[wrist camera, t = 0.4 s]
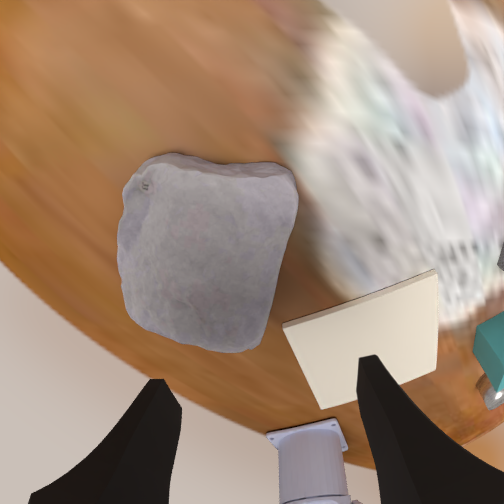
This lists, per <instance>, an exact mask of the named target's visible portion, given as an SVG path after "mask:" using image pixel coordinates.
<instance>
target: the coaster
mask: <svg viewBox="0 0 504 504" xmlns="http://www.w3.org/2000/svg"><path fill="white" fill-rule="evenodd" d="M282 327H283V331H284V333H285V335H286V337H287V339H288V341H289V343H290V345H291V347H292V350H293V352H294V354H295V356H296V358H297V360H298V362H299V364H300V366H301V368H302V371H303V373H304V375H305V377H306V379H307V381H308V383H309V385H310V387H311V389H312V392H313V394H314V396H315V398H316V400H317V402H318V404H319V406H320V408H321V410H323V409H326V408H330V407H334V406H337V405H341V404H344V403H347V402H351V401H354V400H357V393H356V386H357V374H358V361H359V358H360V357H365V356H369V355H374V354H375V355H377V356H378V357H379V359H380V360H381V362H382V363H383V364H384V366H385V367H386V369H387V370H388V371H389V373H390V374H391V375H392V377H393V378H394V379H395V381H396V382H397V383H398V384H399V385H400V384H403V383H405V382H408V381H410V380H413V379H415V378H418V377H420V376H422V375H425V374H427V373H429V372H432V371H434V370H436V360H437V344H438V273H437V272H436V271H435V270H434V269H433V270H431V271H428V272H426V273H423V274H421V275H419V276H416V277H414V278H411V279H409V280H406V281H404V282H401V283H398V284H396V285H393V286H391V287H388V288H385V289H383V290H380V291H377V292H375V293H372V294H369V295H366V296H364V297H361V298H358V299H355V300H352V301H350V302H347V303H344V304H341V305H338V306H335V307H332V308H329V309H326V310H323V311H320V312H317V313H314V314H311V315H308V316H305V317H301V318H298V319H295V320H292V321H289V322H285V323H282Z"/></svg>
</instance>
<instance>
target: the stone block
mask: <svg viewBox="0 0 504 504" xmlns="http://www.w3.org/2000/svg"><path fill="white" fill-rule="evenodd" d="M296 190H297V187H296V182H295V178H294V176H293V174H292V172H291V171H290V170H288V169H286V168H285V167H282V166H280V165H278V164H276V163H273V162H258V163H245V164H243V163H230V164H227V165H221V164H215V163H212V162H209V161H205V160H203V159H201V158H199V157H195V156H186V155H182V154H179V153H167V154H165V155H162V156H156V157H153V158H150V159H149V160H147V161H145V162H144V163H143V164H142V165H141V166H140V168H139V169H138V170H137V171H136V172H135V173H134V174H133V175H132V177H131V179H130V181H129V182H128V183H127V184H126V185H125V187H124V189H123V194H122V196H123V202H124V212H123V216H122V217H121V219H120V221H119V226H118V233H117V245H118V252H117V262H118V269H119V273H120V276H121V278H122V284H121V288H122V291H123V296H124V301H125V305H126V310H127V312H128V314H129V316H130V317H131V318H132V320H135V322H136V323H137V324H139V325H140V326H141V327H143V328H144V329H146V330H149V331H151V332H155V333H157V334H160V335H162V336H164V337H167V338H170V339H172V340H175V341H177V342H179V343H181V344H191V345H197V346H199V347H202V348H204V349H206V350H213V351H217V352H222V353H239V352H243V351H244V350H246V349H250V350H251V349H253V348H255V347H256V346H257V345H259V344H260V342H261V339H262V337H263V334H264V331H265V328H266V325H267V321H268V317H269V313H270V310H271V306H272V302H273V298H274V294H275V289H276V284H277V279H278V275H279V270H280V266H281V263H282V259H283V255H284V252H285V249H286V245H287V241H288V238H289V236H290V234H291V231H292V229H293V227H294V222H295V218H296V214H297V209H298V193H297V191H296Z"/></svg>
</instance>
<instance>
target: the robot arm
mask: <svg viewBox="0 0 504 504" xmlns="http://www.w3.org/2000/svg"><path fill="white" fill-rule="evenodd" d="M356 393H357V399H358V404H359V409H360V414H361V418H362V421H363V424H364V428H365V431H366V434H367V438H368V441H369V445H370V448H371V451H372V455H373V458H374V462H375V466H376V470H377V476H378V483H379V490H380V498H381V504H504V472H502V471H500V470H498V469H496V468H495V467H493V466H491V465H489V464H487V463H486V462H484V461H482V460H481V459H479V458H477V457H476V456H474V455H473V454H471V453H470V452H469V451H467V450H466V449H464V448H463V447H462V446H460V445H459V444H457V443H456V442H455V441H454V440H452V439H451V438H450V437H449V436H448V435H446V434H445V433H444V432H443V431H442V430H441V429H439V428H438V427H437V426H436V425H435V424H434V423H433V422H432V421H431V420H430V419H429V418H428V417H427V416H426V415H425V414H424V413H423V412H422V411H421V410H420V409H419V408H418V407H417V406H416V404H415V403H414V402H413V401H412V400H411V399H410V398H409V396H408V395H407V394H406V393H405V392H404V391H403V389H402V388H401V387H400V386H399V384H398V383H397V382H396V381H395V379H394V378H393V377H392V375H391V374H390V373H389V371H388V370H387V369H386V367H385V366H384V364H383V363H382V362H381V360H380V359H379V357H378V356H377V355H375V354H374V355H369V356H365V357H360V358H359V361H358V374H357V386H356ZM181 419H182V407H181V406H180V404H179V403H178V401H177V400H176V398H175V397H174V395H173V393H172V392H171V390H170V389H169V387H168V385H167V384H166V382H165V380H164V379H150V380H149V381H148V382H147V384H146V385H145V386H144V388H143V389H142V390H141V392H140V393H139V395H138V396H137V397H136V399H135V400H134V401H133V403H132V404H131V406H130V407H129V408H128V410H127V411H126V412H125V414H124V415H123V416H122V417H121V419H120V420H119V421H118V423H117V424H116V425H115V426H114V428H113V429H112V430H111V431H110V432H109V434H108V435H107V436H106V437H105V438H104V439H103V441H102V442H101V443H100V444H99V445H98V446H97V447H96V448H95V449H94V450H93V451H92V452H91V453H90V454H89V455H88V456H87V457H86V458H85V459H83V460H82V461H81V462H80V463H79V464H77V465H76V466H75V467H74V468H72V469H71V470H70V471H69V472H68V473H66V474H64V475H63V476H62V477H60V478H59V479H57V480H56V481H54V482H52V483H51V484H49V485H47V486H45V487H43V488H42V489H40V490H38V491H36V492H34V493H32V494H31V496H30V499H29V502H28V504H169V488H170V480H171V474H172V469H173V465H174V460H175V455H176V450H177V446H178V440H179V436H180V431H181ZM266 438H267V439H268V440H269V441H270V442H271V443H272V444H273V445H274V446H275V447H276V449H277V450H278V452H279V493H280V495H279V498H280V504H351V498H350V495H348V489H347V483H346V475H345V469H344V462H343V455H342V452H343V451H346V450H348V445H347V443H346V440H345V438H344V435H343V433H342V431H341V428H340V426H339V423H338V421H337V419H335V418H332V419H328V420H324V421H320V422H316V423H312V424H308V425H304V426H299V427H295V428H290V429H285V430H280V431H275V432H269V433H267V434H266ZM352 504H362V503H361V502H358V500H353V501H352Z"/></svg>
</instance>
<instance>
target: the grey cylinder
mask: <svg viewBox="0 0 504 504" xmlns="http://www.w3.org/2000/svg"><path fill="white" fill-rule="evenodd" d="M476 386H477V388H478V390H479V392H480V394H481V396H482V398H483V400H484V402H485V404H486V406H487V408H488V410H492V409H495V408H497V407H498V406H500V405H501V404H503V403H504V389H502V390H500V391H499V392H497V393H496V391H495V389H494V388H493V386H492V384H491V382H490V380H489V379H488V377H487V375H486V373H484V374H483V375H482V376H481V377H480V379H479V380H478V382H477V384H476Z"/></svg>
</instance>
